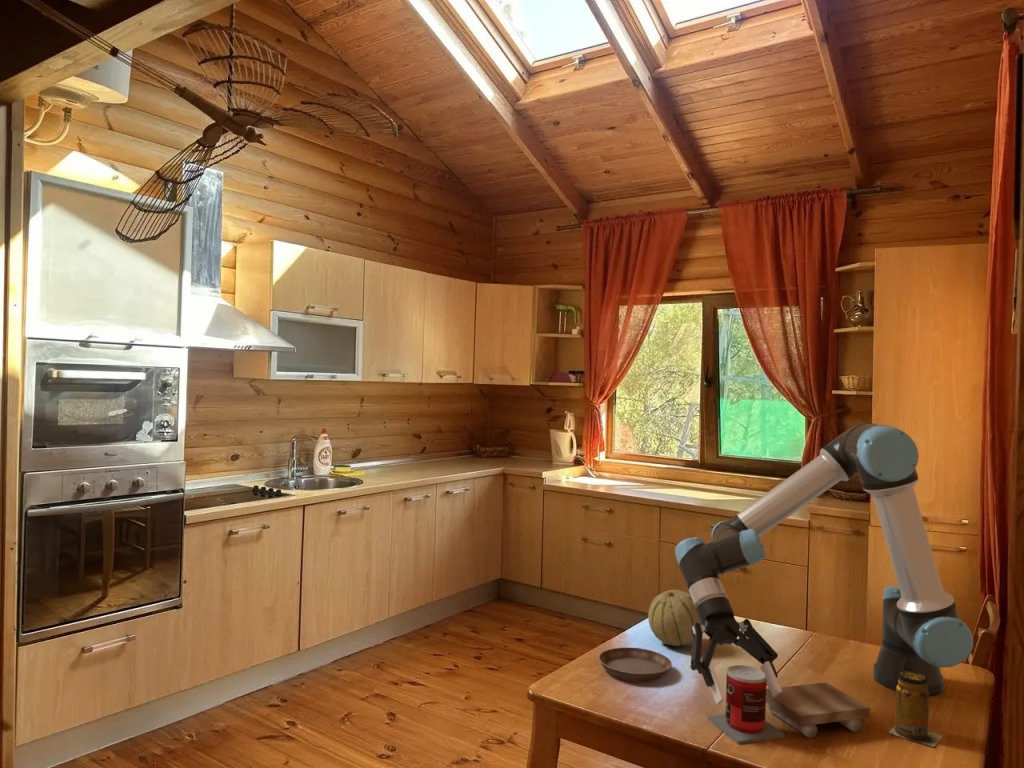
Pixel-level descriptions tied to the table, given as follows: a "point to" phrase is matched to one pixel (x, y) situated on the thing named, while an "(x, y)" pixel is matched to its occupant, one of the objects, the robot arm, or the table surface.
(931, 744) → the condiment
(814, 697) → the walnut slab
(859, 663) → the table surface
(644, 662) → the plant saucer
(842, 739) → the table surface
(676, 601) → the cantaloupe
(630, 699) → the table surface
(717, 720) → the rubber mat
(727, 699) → the canned food
